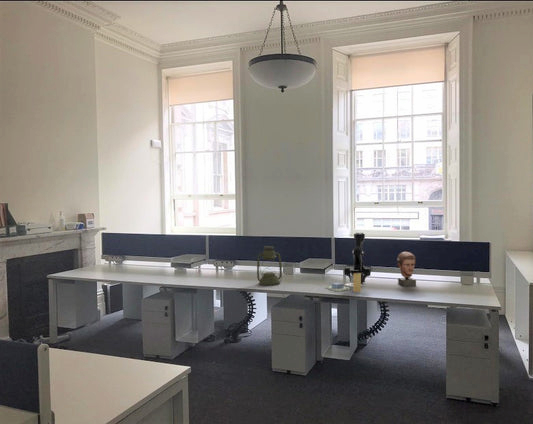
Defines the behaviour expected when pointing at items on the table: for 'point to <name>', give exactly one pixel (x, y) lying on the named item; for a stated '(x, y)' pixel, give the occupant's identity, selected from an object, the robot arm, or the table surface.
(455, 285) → the table surface
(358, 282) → the pillar brick
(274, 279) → the lantern
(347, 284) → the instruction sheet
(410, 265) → the bust
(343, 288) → the baseplate
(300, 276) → the table surface
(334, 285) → the base brick
